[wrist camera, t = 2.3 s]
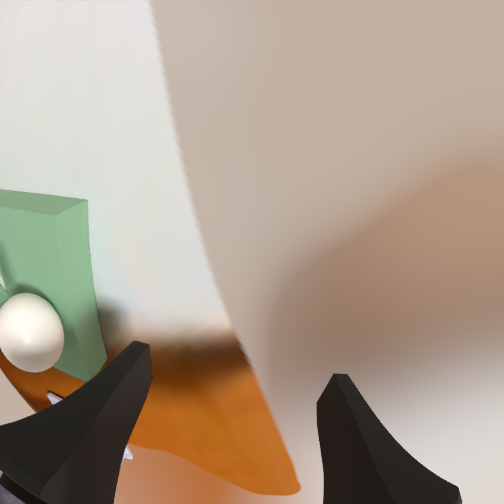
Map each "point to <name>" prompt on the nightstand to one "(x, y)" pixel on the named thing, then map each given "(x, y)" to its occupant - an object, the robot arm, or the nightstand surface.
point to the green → (54, 270)
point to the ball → (30, 332)
